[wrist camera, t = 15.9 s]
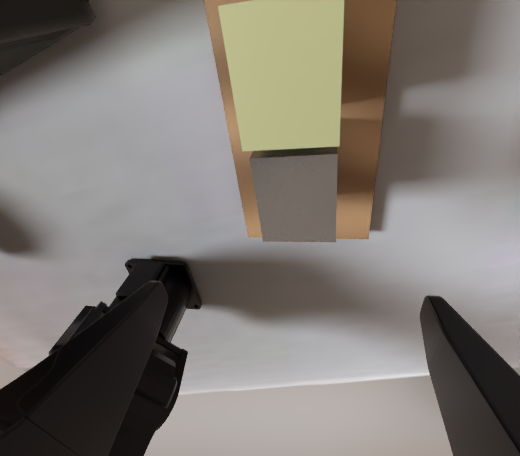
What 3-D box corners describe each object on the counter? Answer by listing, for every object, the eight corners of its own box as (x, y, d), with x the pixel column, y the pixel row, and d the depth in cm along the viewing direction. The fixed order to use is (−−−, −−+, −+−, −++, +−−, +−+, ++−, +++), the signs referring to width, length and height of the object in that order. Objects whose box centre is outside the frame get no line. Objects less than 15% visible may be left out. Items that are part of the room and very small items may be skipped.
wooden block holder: (366, 230, 22) (379, 305, 17) (250, 229, 24) (228, 296, 19) (429, -325, 9) (571, -784, 4) (169, -231, 11) (20, -447, 6)
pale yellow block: (336, 104, 16) (339, 146, 12) (265, 110, 17) (242, 151, 13) (338, -10, 13) (344, -15, 9) (253, 4, 14) (217, 5, 10)
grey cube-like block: (334, 194, 20) (335, 242, 16) (275, 195, 21) (262, 241, 17) (335, 118, 17) (337, 154, 13) (266, 123, 18) (249, 158, 14)
